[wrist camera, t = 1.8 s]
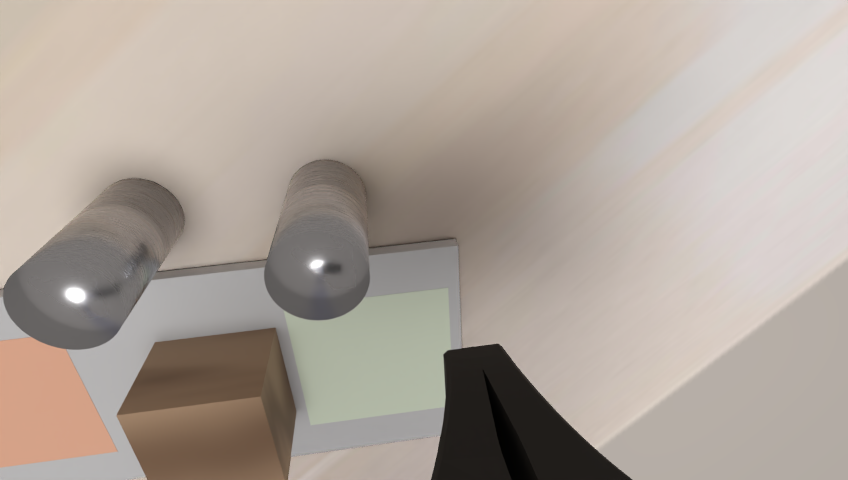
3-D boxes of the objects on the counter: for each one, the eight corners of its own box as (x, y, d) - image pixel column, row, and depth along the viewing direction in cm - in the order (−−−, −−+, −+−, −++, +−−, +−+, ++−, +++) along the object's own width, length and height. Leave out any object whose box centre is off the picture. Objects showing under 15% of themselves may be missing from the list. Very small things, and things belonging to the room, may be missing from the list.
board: (462, 423, 27) (464, 432, 26) (-23, 490, 25) (-31, 502, 24) (455, 238, 22) (458, 245, 21) (-158, 307, 20) (-173, 317, 19)
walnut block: (296, 411, 24) (286, 486, 21) (188, 425, 24) (159, 505, 20) (275, 327, 22) (260, 396, 18) (154, 342, 22) (115, 415, 18)
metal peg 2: (370, 226, 21) (375, 314, 16) (295, 234, 21) (275, 326, 15) (360, 155, 19) (363, 226, 14) (281, 163, 19) (253, 238, 14)
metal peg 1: (193, 245, 20) (138, 342, 15) (115, 254, 20) (31, 355, 15) (171, 174, 19) (101, 254, 14) (86, 182, 19) (-18, 267, 13)
